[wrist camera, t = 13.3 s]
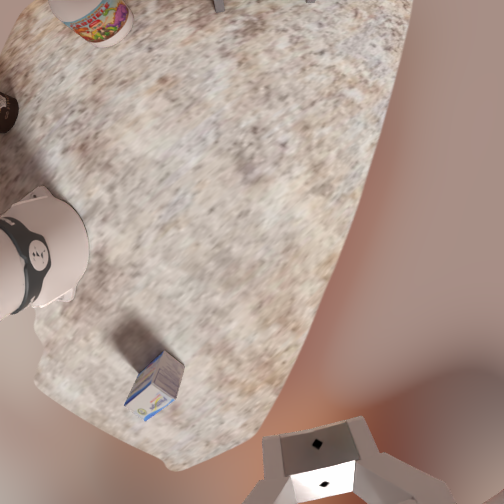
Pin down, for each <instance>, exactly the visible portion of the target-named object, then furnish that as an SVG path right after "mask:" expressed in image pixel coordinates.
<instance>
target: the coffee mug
mask: <svg viewBox="0 0 504 504" xmlns="http://www.w3.org/2000/svg"><path fill="white" fill-rule="evenodd" d="M18 110H19V108H18V102H17V100H16V99H15V98H13V97H10V96H8V95H6V94H4V93H1V92H0V133H5V132H7V131H9V130H10V129H11V128H12V127H13V125H14V124H15V121H16V119H17V116H18Z"/></svg>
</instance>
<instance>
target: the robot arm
mask: <svg viewBox="0 0 504 504" xmlns="http://www.w3.org/2000/svg"><path fill="white" fill-rule="evenodd" d="M35 196H36V198H35ZM88 259H89V242H88V237H87V233H86V230H85V227H84V224H83V222H82V220H81V219H80V217H79V215H78V214H77V213H76V212H75V210H74V209H73V208H72V207H71V206H69V205H68V204H67V203H65V202H63V201H61V200H59V199H57V198H55V197H54V196H53V195H52V194H51V193H50V192H49V190H48V189H47V188H46V187H44V186H39V187H37V188H35V189H34V190H33V191H31V192H30V193H29V194H27V195H26V196H25V197H24V198H22V199H21V200H20V201H19V202H17V203H14V204H12V206H11V208H10V209H9V210H7V211H6V212H5V213H4V214H3V215H2V216H1V217H0V321H1V320H3V319H4V318H5V317H7V316H8V315H9V314H16V313H18V312H19V311H22V310H24V309H26V308H27V307H29V306H30V305H31V307H32V308H35V307H38V306H39V307H41V308H42V307H45V306H46V305H48V304H50V303H51V302H53V301H62V302H69V301H71V300H72V299H73V298H74V296H75V291H76V285H77V283H78V281H79V280H80V279H81V277H82V276H83V274H84V272H85V270H86V267H87V264H88ZM262 448H263V463H264V478H265V479H264V480H259V482H258V483H257V484H256V486H255V487H254V489H253V490H252V491H251V493H250V494H249V495H248V496H247V498H246V499H245V500H244V502H243V503H242V504H297V503H300V502H306V501H310V500H314V499H319V498H323V497H327V496H332V495H337V494H341V493H346V492H350V491H353V492H354V493H355V494H357V495H358V496H359V497H360V498H362V499H363V500H364V501H366V502H367V503H368V504H457V503H456V501H455V499H454V497H453V495H452V494H451V492H450V490H449V488H448V486H447V484H446V483H445V482H444V481H442V480H439V479H437V478H435V477H432V476H431V475H428V474H426V473H424V472H422V471H420V470H418V469H416V468H414V467H412V466H410V465H408V464H406V463H404V462H402V461H400V460H398V459H396V458H394V457H392V456H391V455H389V454H387V453H385V452H384V453H381V454H380V453H379V451H378V449H377V446H376V444H375V442H374V439H373V437H372V435H371V433H370V431H369V428H368V426H367V424H366V422H365V419H364V417H362V416H359V417H355V418H352V419H348V420H346V421H345V420H344V421H340V422H336V423H332V424H329V425H324V426H320V427H316V428H313V429H309V430H303V431H298V432H292V433H285V434H280V435H273V436H266V437H263V439H262ZM482 504H504V489H503V490H502V491H500V492H499V493H498V494H496V495H494V496H493V497H491V498H490V499H488V500H487V501H485V502H484V503H482Z"/></svg>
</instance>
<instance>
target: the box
mask: <svg viewBox="0 0 504 504" xmlns="http://www.w3.org/2000/svg"><path fill="white" fill-rule="evenodd" d="M306 2H307V3H314V2H315V0H306ZM214 4H215V9H216V13H218V12H223V11H225V10H224V3H223V0H214Z"/></svg>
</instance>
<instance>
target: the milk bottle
mask: <svg viewBox="0 0 504 504" xmlns="http://www.w3.org/2000/svg"><path fill="white" fill-rule="evenodd" d="M48 1H49V5H50V8H51V10H52V12H53V14H54V15H55V16H56V17H57V18H58V19H59V20H60V21H62V22H63V23H64V24H65V25H67V26H68V27H69V28H71V29H72V30H73V31H75V32H76V33H77V34H79V35H80V36H81V37H83V38H84V39H85V40H87V41H88V42H89V43H91V44H92V45H94V46H96V47H99V48H105V47H110V46H113V45H115V44H117V43H119V42H120V41H121V40H123V39H124V38H125V37H126V36H127V35H128V33H129V32H130V30H131V28H132V26H133V21H134V17H133V14H132V12H131V11H130V9H129V8H128V7H127V5H126V4H125V3H124V1H123V0H48Z"/></svg>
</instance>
